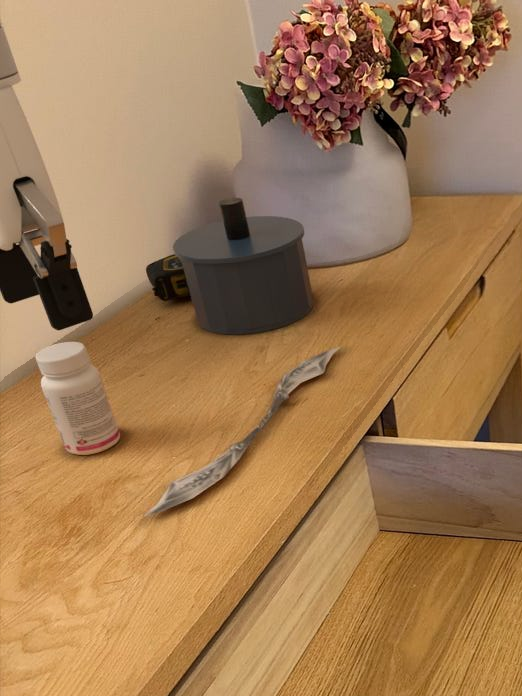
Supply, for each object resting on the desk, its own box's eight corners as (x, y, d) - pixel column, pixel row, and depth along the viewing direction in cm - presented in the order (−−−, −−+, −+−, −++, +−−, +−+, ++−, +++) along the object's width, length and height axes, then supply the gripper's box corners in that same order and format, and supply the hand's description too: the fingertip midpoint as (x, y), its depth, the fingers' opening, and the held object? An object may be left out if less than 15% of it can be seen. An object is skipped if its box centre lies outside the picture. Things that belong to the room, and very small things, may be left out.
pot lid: (152, 253, 104) (139, 207, 101) (261, 218, 110) (252, 175, 108) (217, 279, 96) (205, 231, 93) (331, 241, 102) (323, 194, 99)
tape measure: (151, 291, 115) (141, 258, 113) (208, 279, 117) (200, 246, 115) (158, 309, 110) (148, 276, 108) (218, 296, 112) (210, 263, 110)
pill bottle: (132, 432, 87) (101, 340, 82) (100, 459, 84) (65, 365, 78) (88, 428, 88) (54, 337, 83) (54, 453, 85) (17, 361, 80)
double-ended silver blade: (139, 519, 75) (196, 524, 74) (136, 512, 75) (194, 517, 73) (302, 347, 98) (348, 348, 97) (301, 341, 98) (347, 342, 97)
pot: (177, 316, 108) (157, 246, 104) (273, 282, 114) (258, 215, 110) (236, 344, 101) (217, 271, 96) (335, 306, 107) (323, 235, 102)
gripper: (-136, 69, 71) (-36, 302, 82) (-57, 86, 60) (46, 352, 71) (-33, 49, 75) (50, 275, 85) (58, 62, 64) (140, 319, 75)
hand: (48, 310), depth 78 cm, fingers open, 9 cm apart
